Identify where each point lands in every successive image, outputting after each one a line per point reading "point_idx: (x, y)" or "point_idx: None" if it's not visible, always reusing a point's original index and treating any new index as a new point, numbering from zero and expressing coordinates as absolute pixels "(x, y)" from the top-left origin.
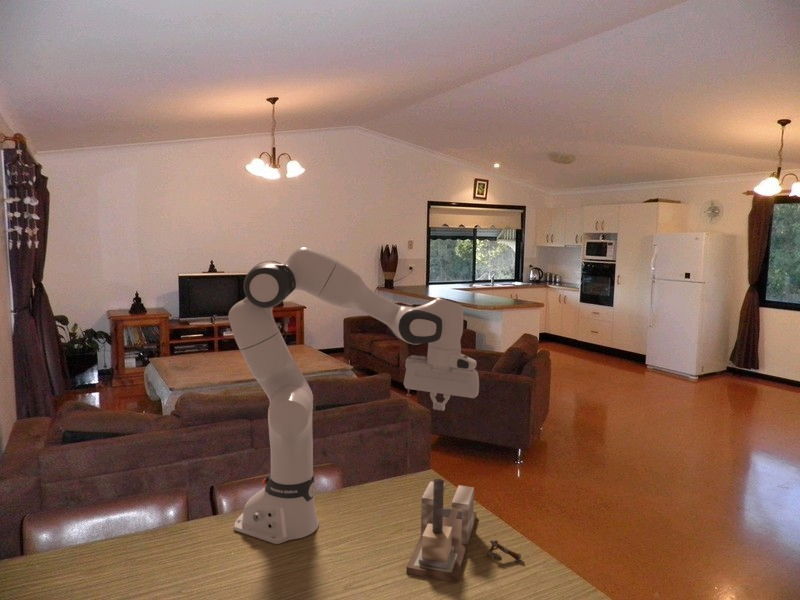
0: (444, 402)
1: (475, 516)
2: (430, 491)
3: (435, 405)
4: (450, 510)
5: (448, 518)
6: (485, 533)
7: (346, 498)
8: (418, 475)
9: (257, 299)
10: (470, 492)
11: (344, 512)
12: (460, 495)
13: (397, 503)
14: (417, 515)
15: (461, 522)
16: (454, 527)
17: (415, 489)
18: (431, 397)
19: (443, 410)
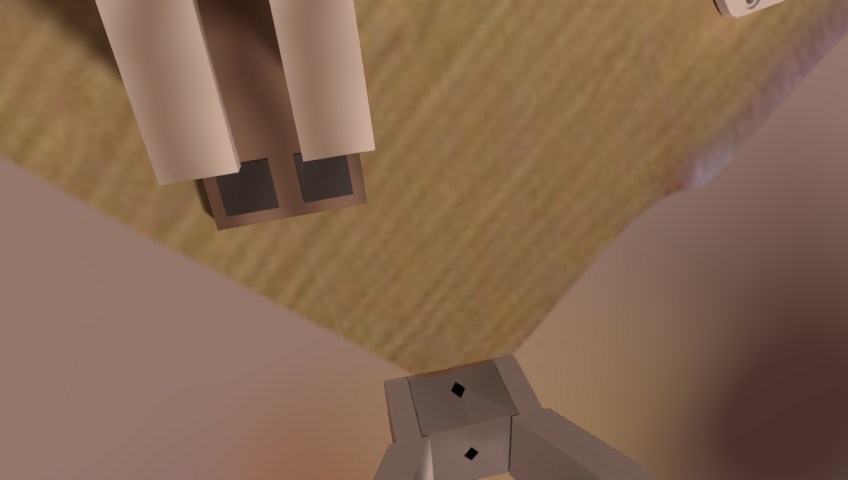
0: (393, 467)
1: (210, 204)
2: (334, 45)
3: (501, 392)
4: (305, 198)
5: (290, 144)
6: (142, 137)
7: (640, 140)
8: None
9: None
10: (148, 124)
11: (622, 55)
12: (179, 70)
13: (489, 185)
14: (405, 144)
15: (236, 139)
16: (244, 93)
17: (468, 290)
18: (612, 460)
19: (384, 384)
